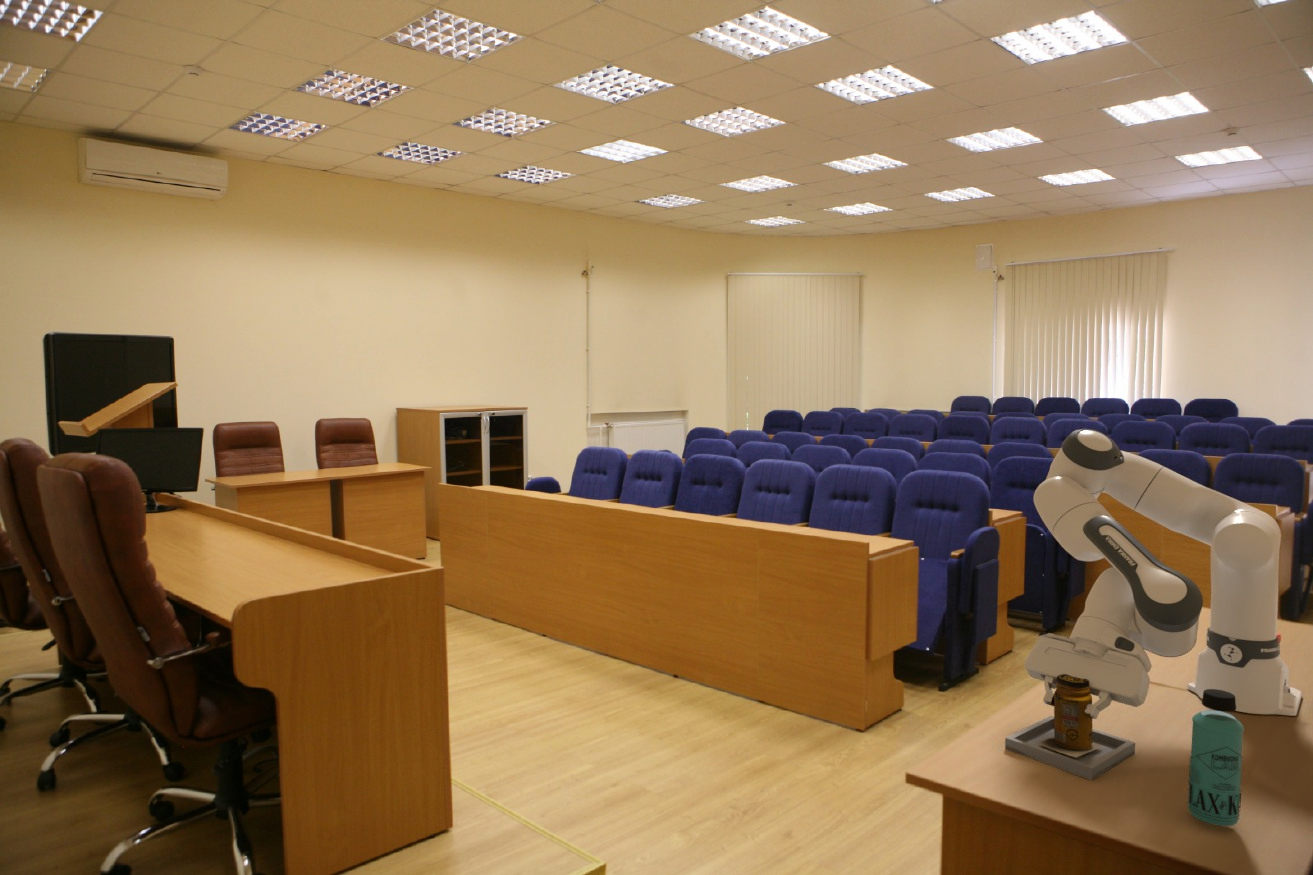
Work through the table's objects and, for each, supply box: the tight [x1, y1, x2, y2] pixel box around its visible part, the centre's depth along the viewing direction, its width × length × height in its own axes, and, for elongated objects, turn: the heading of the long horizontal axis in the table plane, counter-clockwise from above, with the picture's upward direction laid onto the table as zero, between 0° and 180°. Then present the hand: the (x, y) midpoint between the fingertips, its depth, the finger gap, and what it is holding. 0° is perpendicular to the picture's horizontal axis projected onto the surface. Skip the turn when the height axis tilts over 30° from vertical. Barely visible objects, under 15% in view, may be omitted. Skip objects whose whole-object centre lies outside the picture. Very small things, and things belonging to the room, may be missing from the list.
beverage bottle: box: [1186, 689, 1245, 827], centre depth 122 cm, size 6×7×20 cm
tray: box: [1004, 715, 1136, 781], centre depth 147 cm, size 16×15×2 cm
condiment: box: [1037, 674, 1103, 758], centre depth 147 cm, size 7×8×12 cm
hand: (1069, 710), depth 146 cm, fingers closed on condiment, 6 cm apart
